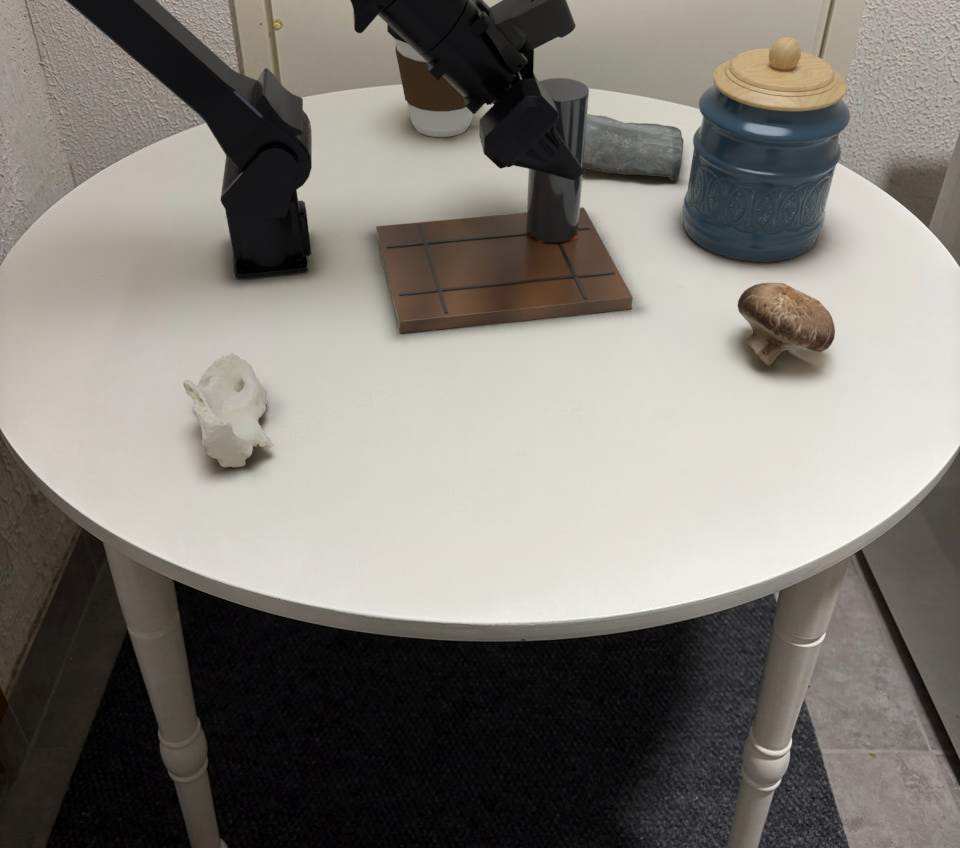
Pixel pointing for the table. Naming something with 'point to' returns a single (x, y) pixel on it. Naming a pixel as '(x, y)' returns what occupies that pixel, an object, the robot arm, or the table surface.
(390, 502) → the table surface
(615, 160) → the stone
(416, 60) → the coffee cup
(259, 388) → the coral
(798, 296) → the mushroom
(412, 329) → the board
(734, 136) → the canister
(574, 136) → the dark grey cylinder
